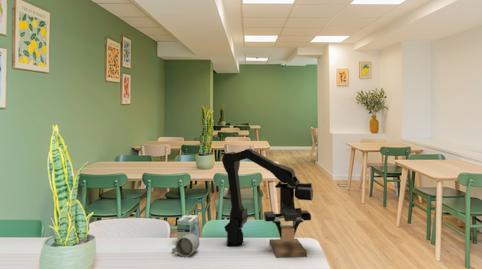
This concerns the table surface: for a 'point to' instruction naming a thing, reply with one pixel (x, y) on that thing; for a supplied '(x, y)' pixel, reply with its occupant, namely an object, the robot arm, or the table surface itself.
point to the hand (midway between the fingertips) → (286, 236)
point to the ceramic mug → (186, 245)
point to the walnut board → (287, 248)
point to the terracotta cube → (287, 233)
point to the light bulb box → (188, 226)
